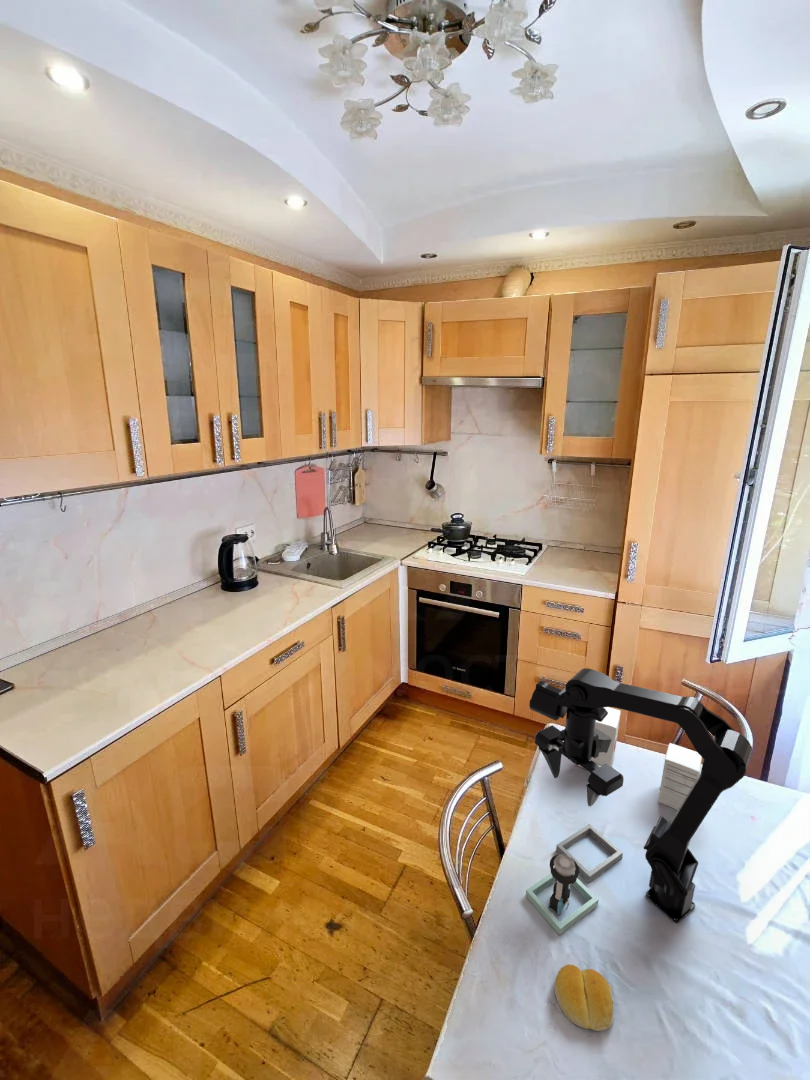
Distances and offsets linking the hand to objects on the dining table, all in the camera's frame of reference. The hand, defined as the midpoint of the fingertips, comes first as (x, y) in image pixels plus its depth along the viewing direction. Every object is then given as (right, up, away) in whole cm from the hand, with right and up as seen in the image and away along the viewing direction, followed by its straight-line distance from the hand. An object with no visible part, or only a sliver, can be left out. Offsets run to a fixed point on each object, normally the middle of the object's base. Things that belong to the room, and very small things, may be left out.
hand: (572, 790), depth 104 cm
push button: (-6, -16, -10) cm, 20 cm away
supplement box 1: (+16, -6, +27) cm, 32 cm away
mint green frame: (-6, -16, -10) cm, 20 cm away
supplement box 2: (+30, -10, +15) cm, 35 cm away
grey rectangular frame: (+3, -14, 0) cm, 14 cm away
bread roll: (-7, -21, -26) cm, 34 cm away
